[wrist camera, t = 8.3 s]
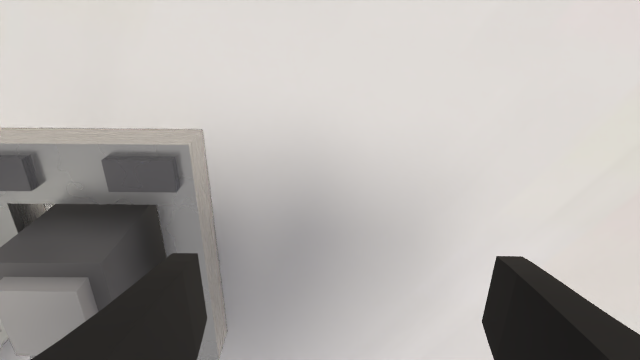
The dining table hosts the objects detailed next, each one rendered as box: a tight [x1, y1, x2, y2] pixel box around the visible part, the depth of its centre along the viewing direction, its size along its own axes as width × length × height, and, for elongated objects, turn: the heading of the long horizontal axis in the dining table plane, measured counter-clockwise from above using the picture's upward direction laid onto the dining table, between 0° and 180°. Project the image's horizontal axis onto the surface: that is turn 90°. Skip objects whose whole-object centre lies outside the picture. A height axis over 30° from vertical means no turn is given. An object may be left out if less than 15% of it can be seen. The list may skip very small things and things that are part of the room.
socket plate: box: [0, 128, 227, 360], centre depth 20 cm, size 12×10×2 cm
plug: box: [0, 204, 166, 356], centre depth 18 cm, size 4×4×6 cm
